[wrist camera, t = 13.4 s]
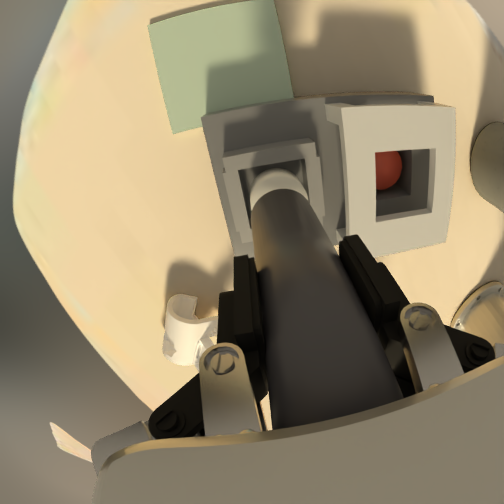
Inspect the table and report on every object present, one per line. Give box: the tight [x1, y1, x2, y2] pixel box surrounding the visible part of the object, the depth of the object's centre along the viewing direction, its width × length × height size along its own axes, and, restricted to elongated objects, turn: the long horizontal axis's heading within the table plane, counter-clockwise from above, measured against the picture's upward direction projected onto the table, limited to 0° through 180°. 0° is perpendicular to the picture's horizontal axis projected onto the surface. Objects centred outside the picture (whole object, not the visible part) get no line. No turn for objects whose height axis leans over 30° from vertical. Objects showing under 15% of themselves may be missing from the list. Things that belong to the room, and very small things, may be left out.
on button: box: [250, 168, 308, 211], centre depth 19 cm, size 4×4×2 cm
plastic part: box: [162, 294, 218, 371], centre depth 29 cm, size 8×10×12 cm
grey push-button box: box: [201, 92, 456, 260], centre depth 21 cm, size 18×12×7 cm, turn 100°
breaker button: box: [375, 151, 402, 190], centre depth 22 cm, size 4×4×3 cm
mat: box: [148, 0, 294, 134], centre depth 19 cm, size 10×10×1 cm
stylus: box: [251, 189, 404, 430], centre depth 11 cm, size 3×3×12 cm
